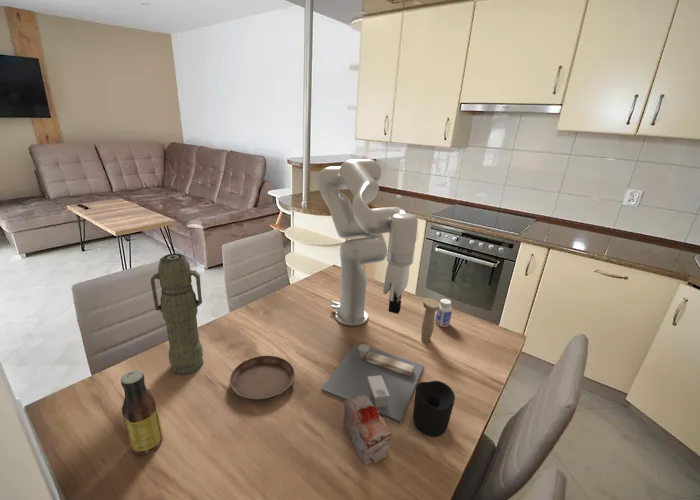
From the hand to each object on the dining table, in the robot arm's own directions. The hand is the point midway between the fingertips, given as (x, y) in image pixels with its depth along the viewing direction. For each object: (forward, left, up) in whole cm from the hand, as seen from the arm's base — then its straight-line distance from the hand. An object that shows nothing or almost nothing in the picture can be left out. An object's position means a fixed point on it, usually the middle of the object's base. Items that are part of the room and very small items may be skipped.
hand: (394, 311), depth 106 cm
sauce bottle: (-38, -57, -17) cm, 70 cm away
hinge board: (0, -12, -17) cm, 21 cm away
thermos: (-52, -34, -17) cm, 64 cm away
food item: (+5, -33, -17) cm, 37 cm away
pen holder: (+18, -20, -17) cm, 32 cm away
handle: (+8, +15, -17) cm, 24 cm away
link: (+2, -6, -16) cm, 17 cm away
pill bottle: (+11, +29, -17) cm, 36 cm away
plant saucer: (-28, -29, -17) cm, 44 cm away
